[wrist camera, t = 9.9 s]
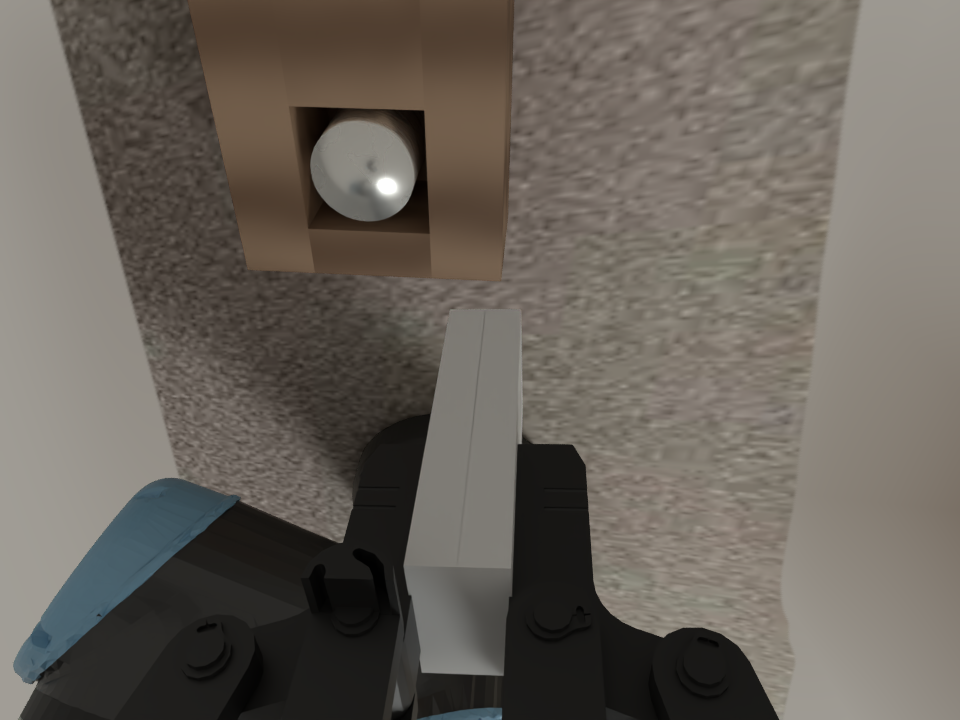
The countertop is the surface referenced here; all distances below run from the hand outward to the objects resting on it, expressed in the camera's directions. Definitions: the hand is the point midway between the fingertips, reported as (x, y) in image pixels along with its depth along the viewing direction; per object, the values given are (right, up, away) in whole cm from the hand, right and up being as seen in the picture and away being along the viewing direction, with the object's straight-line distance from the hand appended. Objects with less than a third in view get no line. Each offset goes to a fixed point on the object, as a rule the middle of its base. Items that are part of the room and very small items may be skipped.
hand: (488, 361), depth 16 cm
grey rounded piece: (-5, +12, +22) cm, 26 cm away
